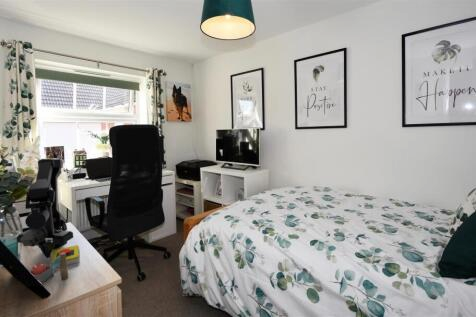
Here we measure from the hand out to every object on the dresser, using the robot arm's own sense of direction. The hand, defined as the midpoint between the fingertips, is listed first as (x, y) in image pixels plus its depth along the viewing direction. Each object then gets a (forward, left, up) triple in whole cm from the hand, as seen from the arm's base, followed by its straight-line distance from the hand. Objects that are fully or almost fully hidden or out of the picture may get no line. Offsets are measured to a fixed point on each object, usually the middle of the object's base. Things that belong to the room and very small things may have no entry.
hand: (47, 257), depth 102 cm
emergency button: (-2, +6, -2) cm, 7 cm away
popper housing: (+12, +7, -2) cm, 14 cm away
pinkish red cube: (+12, +7, 0) cm, 14 cm away
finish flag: (+12, +15, -2) cm, 19 cm away
